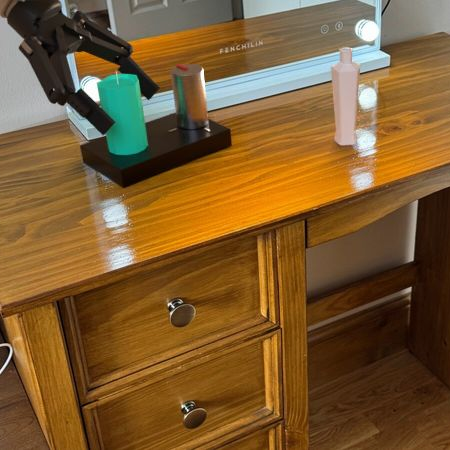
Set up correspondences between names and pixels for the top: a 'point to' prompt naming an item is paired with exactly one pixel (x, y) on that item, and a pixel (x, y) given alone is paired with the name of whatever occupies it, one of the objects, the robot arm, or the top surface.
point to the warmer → (157, 150)
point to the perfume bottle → (345, 97)
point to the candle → (123, 113)
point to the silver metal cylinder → (189, 96)
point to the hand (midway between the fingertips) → (133, 110)
